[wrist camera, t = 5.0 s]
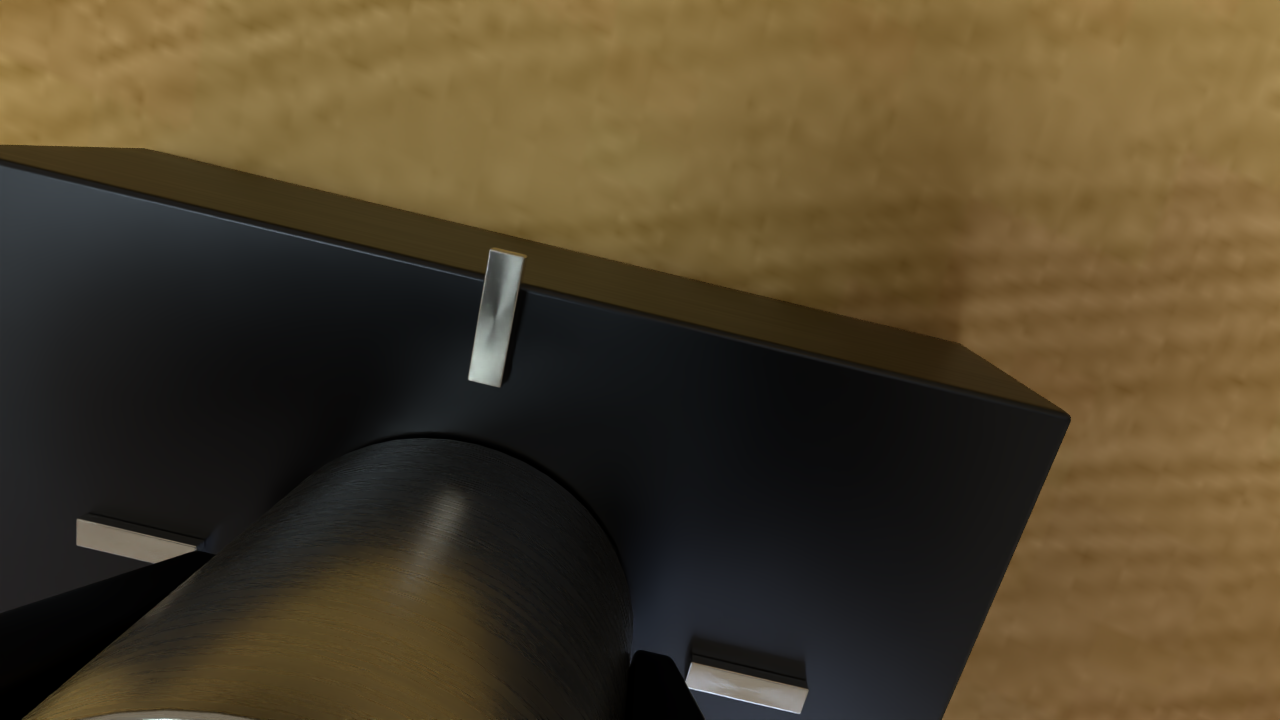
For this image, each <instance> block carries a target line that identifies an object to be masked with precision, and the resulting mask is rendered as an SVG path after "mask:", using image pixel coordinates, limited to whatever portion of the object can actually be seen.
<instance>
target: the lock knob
mask: <svg viewBox="0 0 1280 720" xmlns="http://www.w3.org/2000/svg"><path fill="white" fill-rule="evenodd" d="M632 639H633V609H632V601H631V593H630V590H629V586H628V582H627V578H626V575H625V571H624V569H623V567H622V564H621V562H620V560H619V557H618V555H617V553H616V550H615V549H614V547H613V545H612V544H611V542H610V540H609V539H608V537H607V535H606V534H605V532H604V530H603V529H602V528H601V526H600V525H599V524H598V523H597V521H596V520H595V519H594V518H593V516H592V515H591V514H590V513H589V511H588V510H587V509H586V508H585V507H584V506H583V505H582V504H581V503H580V502H579V501H578V500H577V499H576V498H575V497H574V496H573V495H572V494H571V493H570V492H569V491H568V490H566V489H565V488H564V487H562V486H561V485H560V484H558V483H557V482H556V481H554V480H553V479H552V478H550V477H549V476H548V475H546V474H544V473H543V472H541V471H539V470H538V469H536V468H534V467H532V466H531V465H529V464H527V463H526V462H524V461H521V460H519V459H517V458H514V457H512V456H510V455H508V454H505V453H503V452H501V451H497V450H494V449H491V448H487V447H484V446H481V445H477V444H473V443H468V442H462V441H456V440H450V439H434V438H413V439H400V440H392V441H387V442H382V443H378V444H373V445H369V446H366V447H363V448H360V449H358V450H355V451H352V452H349V453H347V454H345V455H343V456H341V457H339V458H337V459H335V460H333V461H331V462H329V463H327V464H325V465H324V466H323V467H321V468H320V469H319V470H317V471H316V472H314V473H313V474H312V475H310V476H309V477H307V478H306V479H305V480H304V481H303V482H301V483H300V484H299V485H298V486H297V487H296V488H294V489H293V490H292V491H291V492H290V493H288V494H287V495H286V496H285V497H284V498H283V499H281V500H280V501H279V502H278V503H277V504H275V505H274V506H273V507H272V508H271V509H270V510H268V511H267V512H266V513H265V514H264V515H262V516H261V517H260V518H259V519H258V520H257V521H255V522H254V523H253V524H252V525H251V526H249V527H248V528H247V529H246V530H245V531H244V532H242V533H241V534H240V535H239V536H238V537H236V538H235V539H234V540H233V541H232V542H231V543H229V544H228V545H227V546H226V547H225V548H223V549H222V550H221V551H220V552H219V553H218V554H216V555H215V556H214V557H213V558H212V559H210V560H209V561H208V562H207V563H206V564H204V565H203V566H202V567H201V568H200V569H199V570H197V571H196V572H195V573H194V574H193V575H191V576H190V577H189V578H188V579H187V580H186V581H184V582H183V583H182V584H181V585H180V586H178V587H177V588H176V589H175V590H174V591H173V592H171V593H170V594H169V595H168V596H167V597H165V598H164V599H163V600H162V601H161V602H160V603H158V604H157V605H156V606H155V607H154V608H152V609H151V610H150V611H149V612H148V613H147V614H145V615H144V616H143V617H142V618H141V619H139V620H138V621H137V622H136V623H135V624H134V625H132V626H131V627H130V628H129V629H128V630H126V631H125V632H124V633H123V634H122V635H121V636H119V637H118V638H117V639H116V640H115V641H113V642H112V643H111V644H110V645H109V646H108V647H106V648H105V649H104V650H103V651H102V652H100V653H99V654H98V655H97V656H96V657H95V658H93V659H92V660H91V661H90V662H89V663H87V664H86V665H85V666H84V667H83V668H81V669H80V670H79V671H78V672H77V673H76V674H74V675H73V676H72V677H71V678H70V679H68V680H67V681H66V682H65V683H64V684H63V685H61V686H60V687H59V688H58V689H57V690H55V691H54V692H53V693H52V694H51V695H50V696H48V697H47V698H46V699H45V700H44V701H42V702H41V703H40V704H39V705H38V706H37V707H35V708H34V709H33V710H32V711H31V712H29V713H28V714H27V715H26V716H25V717H24V718H22V719H21V720H625V710H626V700H627V689H628V679H629V669H630V659H631V649H632Z"/></svg>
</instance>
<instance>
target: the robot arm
mask: <svg viewBox="0 0 1280 720" xmlns="http://www.w3.org/2000/svg"><path fill="white" fill-rule="evenodd" d="M215 555H216V554H211V553H207V552H202V551H192V552H189V553H185V554H182V555H179V556H176V557H173V558H170V559H167V560H164V561H161V562H157V563H154V564H151V565H148V566H145V567H142V568H139V569H136V570H133V571H130V572H126V573H123V574H120V575H117V576H114V577H111V578H108V579H105V580H102V581H99V582H95V583H92V584H89V585H86V586H83V587H80V588H77V589H74V590H71V591H68V592H64V593H61V594H58V595H55V596H52V597H49V598H46V599H43V600H40V601H36V602H33V603H30V604H27V605H24V606H21V607H18V608H15V609H12V610H9V611H5V612H2V613H0V720H21V719H22V718H24V717H25V716H26V715H27V714H28V713H29V712H31V711H32V710H33V709H34V708H35V707H37V706H38V705H39V704H40V703H41V702H42V701H44V700H45V699H46V698H47V697H48V696H50V695H51V694H52V693H53V692H54V691H55V690H57V689H58V688H59V687H60V686H61V685H63V684H64V683H65V682H66V681H67V680H68V679H70V678H71V677H72V676H73V675H74V674H76V673H77V672H78V671H79V670H80V669H81V668H83V667H84V666H85V665H86V664H87V663H89V662H90V661H91V660H92V659H93V658H95V657H96V656H97V655H98V654H99V653H100V652H102V651H103V650H104V649H105V648H106V647H108V646H109V645H110V644H111V643H112V642H113V641H115V640H116V639H117V638H118V637H119V636H121V635H122V634H123V633H124V632H125V631H126V630H128V629H129V628H130V627H131V626H132V625H134V624H135V623H136V622H137V621H138V620H139V619H141V618H142V617H143V616H144V615H145V614H147V613H148V612H149V611H150V610H151V609H152V608H154V607H155V606H156V605H157V604H158V603H160V602H161V601H162V600H163V599H164V598H165V597H167V596H168V595H169V594H170V593H171V592H173V591H174V590H175V589H176V588H177V587H178V586H180V585H181V584H182V583H183V582H184V581H186V580H187V579H188V578H189V577H190V576H191V575H193V574H194V573H195V572H196V571H197V570H199V569H200V568H201V567H202V566H203V565H204V564H206V563H207V562H208V561H209V560H210V559H212V558H213V557H214V556H215ZM625 720H706V719H705V717H704V716H703V714H702V712H701V710H700V708H699V706H698V704H697V703H696V701H695V699H694V697H693V695H692V693H691V692H690V690H689V688H688V686H687V684H686V682H685V681H684V679H683V677H682V675H681V673H680V671H679V670H678V668H677V666H676V664H675V662H674V661H673V659H672V658H671V657H669V656H667V655H662V654H658V653H653V652H649V651H644V650H638V651H636V652H635V653H634V655H633V658H632V661H631V664H630V669H629V679H628V689H627V700H626V710H625Z"/></svg>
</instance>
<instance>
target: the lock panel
mask: <svg viewBox="0 0 1280 720" xmlns="http://www.w3.org/2000/svg"><path fill="white" fill-rule="evenodd" d="M1070 422H1071V417H1070V415H1069V414H1068V413H1067V412H1065V411H1064V410H1062V409H1061V408H1059V407H1057V406H1056V405H1054V404H1053V403H1051V402H1050V401H1048V400H1047V399H1045V398H1044V397H1042V396H1040V395H1039V394H1037V393H1036V392H1034V391H1033V390H1031V389H1030V388H1028V387H1026V386H1025V385H1023V384H1022V383H1020V382H1019V381H1017V380H1016V379H1014V378H1013V377H1011V376H1009V375H1008V374H1006V373H1005V372H1003V371H1002V370H1000V369H999V368H997V367H995V366H994V365H992V364H991V363H989V362H988V361H986V360H985V359H983V358H982V357H980V356H978V355H977V354H975V353H974V352H972V351H971V350H969V349H968V348H966V347H964V346H963V345H961V344H960V343H955V342H951V341H947V340H943V339H939V338H935V337H930V336H926V335H922V334H918V333H914V332H909V331H905V330H901V329H897V328H893V327H889V326H884V325H880V324H876V323H872V322H868V321H863V320H859V319H855V318H851V317H847V316H843V315H838V314H834V313H830V312H826V311H822V310H817V309H813V308H809V307H805V306H801V305H797V304H792V303H788V302H784V301H780V300H776V299H772V298H767V297H763V296H759V295H755V294H751V293H746V292H742V291H738V290H734V289H730V288H726V287H721V286H717V285H713V284H709V283H705V282H700V281H696V280H692V279H688V278H684V277H680V276H675V275H671V274H667V273H663V272H659V271H654V270H650V269H646V268H642V267H638V266H634V265H629V264H625V263H621V262H617V261H613V260H609V259H604V258H600V257H596V256H592V255H588V254H583V253H579V252H575V251H571V250H567V249H563V248H558V247H554V246H550V245H546V244H542V243H537V242H533V241H529V240H525V239H521V238H517V237H512V236H508V235H504V234H500V233H496V232H491V231H487V230H483V229H479V228H475V227H471V226H466V225H462V224H458V223H454V222H450V221H446V220H441V219H437V218H433V217H429V216H425V215H420V214H416V213H412V212H408V211H404V210H400V209H395V208H391V207H387V206H383V205H379V204H374V203H370V202H366V201H362V200H358V199H354V198H349V197H345V196H341V195H337V194H333V193H328V192H324V191H320V190H316V189H312V188H308V187H303V186H299V185H295V184H291V183H287V182H283V181H278V180H274V179H270V178H266V177H262V176H257V175H253V174H249V173H245V172H241V171H237V170H232V169H228V168H224V167H220V166H216V165H211V164H207V163H203V162H199V161H195V160H191V159H186V158H182V157H178V156H174V155H170V154H166V153H161V152H157V151H153V150H149V149H144V148H107V147H69V146H32V145H0V613H2V612H5V611H9V610H12V609H15V608H18V607H21V606H24V605H27V604H30V603H33V602H36V601H40V600H43V599H46V598H49V597H52V596H55V595H58V594H61V593H64V592H68V591H71V590H74V589H77V588H80V587H83V586H86V585H89V584H92V583H95V582H99V581H102V580H105V579H108V578H111V577H114V576H117V575H120V574H123V573H126V572H130V571H133V570H136V569H139V568H142V567H145V566H148V565H151V564H154V563H157V562H161V561H164V560H167V559H170V558H173V557H176V556H179V555H182V554H185V553H189V552H192V551H202V552H207V553H211V554H218V553H219V552H220V551H221V550H222V549H223V548H225V547H226V546H227V545H228V544H229V543H231V542H232V541H233V540H234V539H235V538H236V537H238V536H239V535H240V534H241V533H242V532H244V531H245V530H246V529H247V528H248V527H249V526H251V525H252V524H253V523H254V522H255V521H257V520H258V519H259V518H260V517H261V516H262V515H264V514H265V513H266V512H267V511H268V510H270V509H271V508H272V507H273V506H274V505H275V504H277V503H278V502H279V501H280V500H281V499H283V498H284V497H285V496H286V495H287V494H288V493H290V492H291V491H292V490H293V489H294V488H296V487H297V486H298V485H299V484H300V483H301V482H303V481H304V480H305V479H306V478H307V477H309V476H310V475H312V474H313V473H314V472H316V471H317V470H319V469H320V468H321V467H323V466H324V465H325V464H327V463H329V462H331V461H333V460H335V459H337V458H339V457H341V456H343V455H345V454H347V453H349V452H352V451H355V450H358V449H360V448H363V447H366V446H369V445H373V444H378V443H382V442H387V441H392V440H400V439H413V438H434V439H450V440H456V441H462V442H468V443H473V444H477V445H481V446H484V447H487V448H491V449H494V450H497V451H501V452H503V453H505V454H508V455H510V456H512V457H514V458H517V459H519V460H521V461H524V462H526V463H527V464H529V465H531V466H532V467H534V468H536V469H538V470H539V471H541V472H543V473H544V474H546V475H548V476H549V477H550V478H552V479H553V480H554V481H556V482H557V483H558V484H560V485H561V486H562V487H564V488H565V489H566V490H568V491H569V492H570V493H571V494H572V495H573V496H574V497H575V498H576V499H577V500H578V501H579V502H580V503H581V504H582V505H583V506H584V507H585V508H586V509H587V510H588V511H589V513H590V514H591V515H592V516H593V518H594V519H595V520H596V521H597V523H598V524H599V525H600V526H601V528H602V529H603V530H604V532H605V534H606V535H607V537H608V539H609V540H610V542H611V544H612V545H613V547H614V549H615V550H616V553H617V555H618V557H619V560H620V562H621V564H622V567H623V569H624V571H625V575H626V578H627V582H628V586H629V590H630V593H631V601H632V609H633V639H632V649H631V659H630V664H631V661H632V658H633V655H634V653H635V652H636V651H638V650H644V651H649V652H653V653H658V654H662V655H667V656H669V657H671V658H672V659H673V661H674V662H675V664H676V666H677V668H678V670H679V671H680V673H681V675H682V677H683V679H684V681H685V682H686V684H687V686H688V688H689V690H690V692H691V693H692V695H693V697H694V699H695V701H696V703H697V704H698V706H699V708H700V710H701V712H702V714H703V716H704V717H705V719H706V720H942V718H943V715H944V713H945V711H946V708H947V706H948V704H949V701H950V699H951V697H952V694H953V692H954V690H955V688H956V685H957V683H958V681H959V678H960V676H961V674H962V671H963V669H964V667H965V664H966V662H967V660H968V657H969V655H970V653H971V651H972V648H973V646H974V644H975V641H976V639H977V637H978V634H979V632H980V630H981V627H982V625H983V623H984V621H985V618H986V616H987V614H988V611H989V609H990V607H991V604H992V602H993V600H994V597H995V595H996V593H997V590H998V588H999V586H1000V584H1001V581H1002V579H1003V577H1004V574H1005V572H1006V570H1007V567H1008V565H1009V563H1010V560H1011V558H1012V556H1013V553H1014V551H1015V549H1016V547H1017V544H1018V542H1019V540H1020V537H1021V535H1022V533H1023V530H1024V528H1025V526H1026V523H1027V521H1028V519H1029V517H1030V514H1031V512H1032V510H1033V507H1034V505H1035V503H1036V500H1037V498H1038V496H1039V493H1040V491H1041V489H1042V486H1043V484H1044V482H1045V480H1046V477H1047V475H1048V473H1049V470H1050V468H1051V466H1052V463H1053V461H1054V459H1055V456H1056V454H1057V452H1058V449H1059V447H1060V445H1061V443H1062V440H1063V438H1064V436H1065V433H1066V431H1067V429H1068V426H1069V424H1070Z"/></svg>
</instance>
